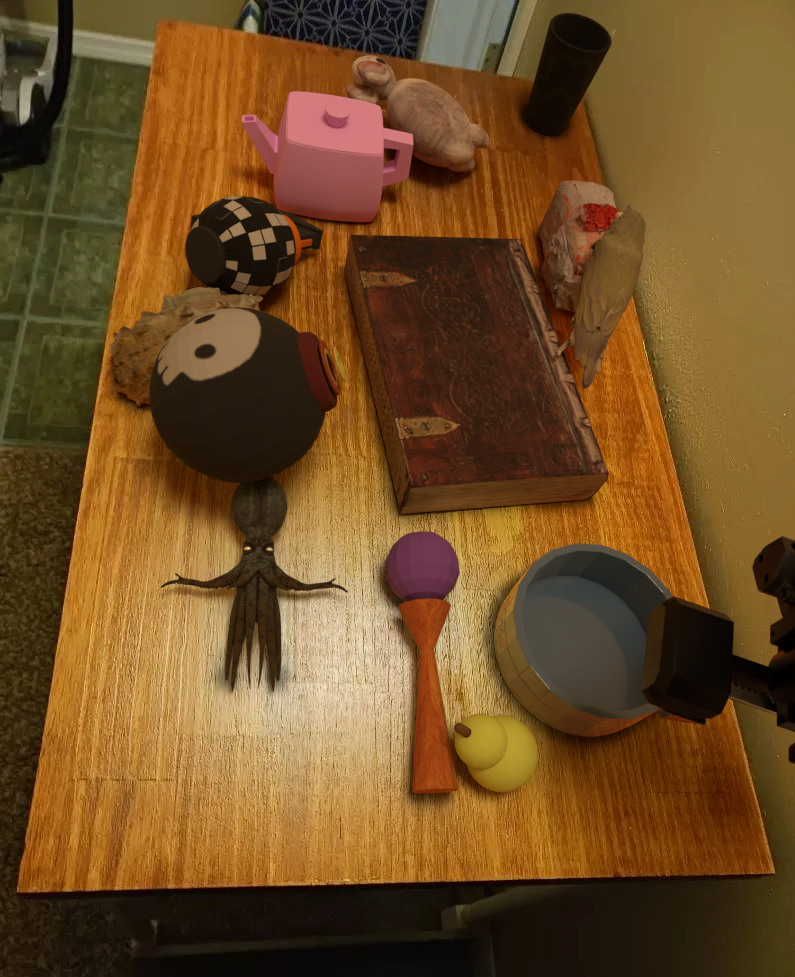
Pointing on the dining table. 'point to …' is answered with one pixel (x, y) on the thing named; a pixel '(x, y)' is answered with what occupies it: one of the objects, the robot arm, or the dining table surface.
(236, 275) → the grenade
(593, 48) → the cup
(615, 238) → the decorative bird model
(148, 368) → the seashell
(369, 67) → the toy
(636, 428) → the dining table surface
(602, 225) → the food item
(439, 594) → the kendama
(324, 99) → the teapot
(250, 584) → the figurine
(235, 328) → the toy
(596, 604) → the bowl
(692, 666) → the robot arm
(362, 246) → the antique book
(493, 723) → the pear toy
